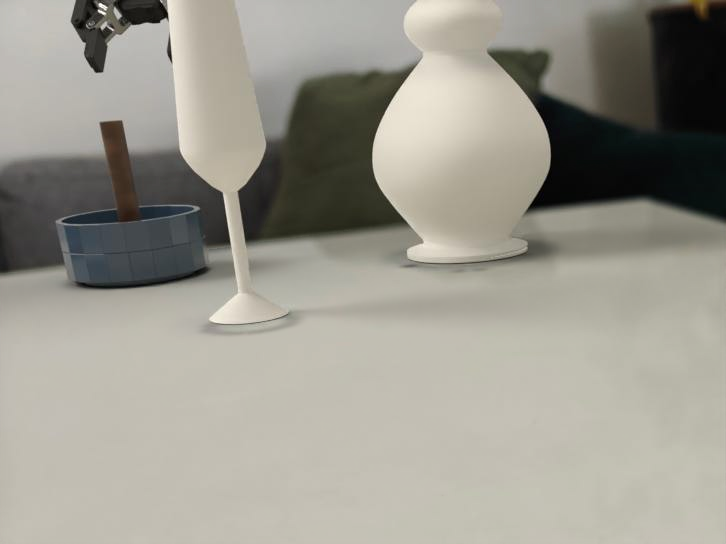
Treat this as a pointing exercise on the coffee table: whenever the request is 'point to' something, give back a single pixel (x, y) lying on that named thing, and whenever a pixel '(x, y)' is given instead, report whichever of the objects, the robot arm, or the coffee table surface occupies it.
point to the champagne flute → (219, 126)
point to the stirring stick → (120, 170)
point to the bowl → (133, 245)
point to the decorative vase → (460, 139)
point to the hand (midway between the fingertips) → (134, 64)
